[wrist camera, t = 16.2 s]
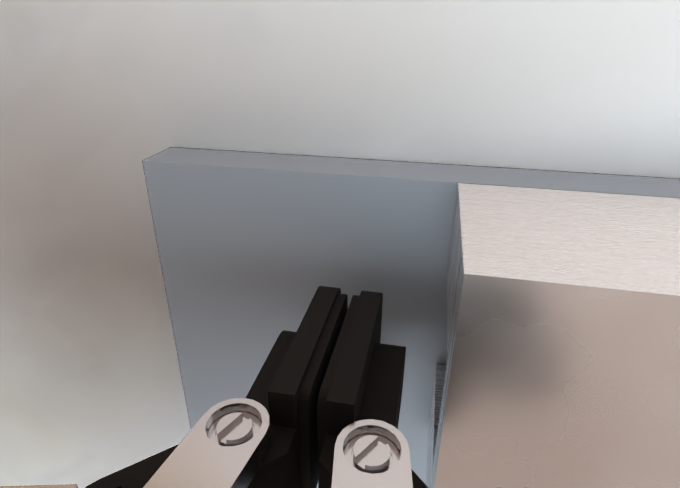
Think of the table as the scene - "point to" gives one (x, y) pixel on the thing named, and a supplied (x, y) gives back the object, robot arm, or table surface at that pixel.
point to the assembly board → (317, 256)
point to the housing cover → (559, 342)
